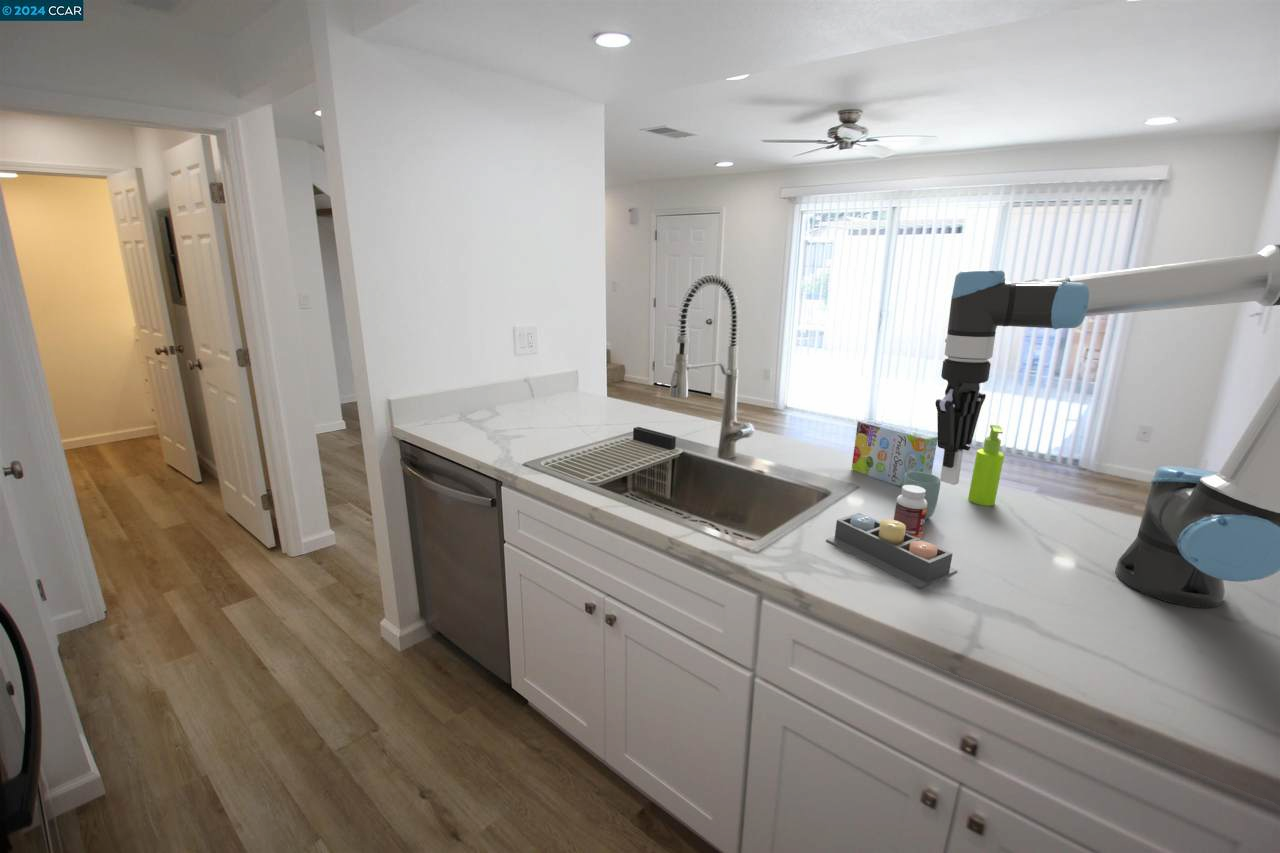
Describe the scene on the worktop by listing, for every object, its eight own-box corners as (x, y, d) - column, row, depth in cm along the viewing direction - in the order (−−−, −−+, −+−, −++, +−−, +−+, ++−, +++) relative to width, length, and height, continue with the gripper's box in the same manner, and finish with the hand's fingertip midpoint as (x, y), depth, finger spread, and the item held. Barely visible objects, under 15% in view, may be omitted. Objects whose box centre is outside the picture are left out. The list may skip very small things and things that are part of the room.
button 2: (907, 546, 117) (911, 525, 116) (892, 552, 114) (896, 530, 113) (887, 537, 121) (890, 516, 119) (872, 542, 118) (875, 521, 117)
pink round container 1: (939, 569, 112) (942, 547, 110) (924, 576, 109) (928, 553, 108) (916, 559, 116) (919, 537, 114) (901, 565, 113) (905, 543, 112)
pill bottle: (924, 543, 124) (932, 495, 121) (893, 538, 126) (900, 492, 123) (919, 531, 130) (927, 485, 127) (890, 527, 131) (897, 482, 128)
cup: (938, 524, 133) (945, 484, 130) (902, 521, 134) (908, 481, 132) (929, 511, 140) (935, 472, 138) (895, 508, 142) (900, 470, 139)
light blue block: (877, 540, 123) (879, 520, 122) (862, 545, 121) (865, 525, 119) (858, 531, 127) (860, 512, 126) (843, 536, 125) (846, 516, 123)
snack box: (930, 489, 154) (939, 436, 150) (918, 494, 151) (927, 439, 147) (861, 466, 171) (868, 418, 167) (849, 470, 168) (856, 420, 164)
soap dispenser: (970, 504, 145) (984, 428, 139) (966, 495, 151) (980, 421, 145) (997, 508, 142) (1012, 431, 137) (992, 498, 149) (1007, 424, 143)
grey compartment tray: (957, 572, 112) (960, 551, 111) (920, 588, 106) (923, 566, 105) (862, 528, 130) (864, 510, 129) (826, 540, 124) (828, 521, 123)
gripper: (965, 353, 110) (948, 470, 116) (926, 359, 103) (910, 483, 109) (1007, 358, 104) (987, 481, 110) (968, 364, 97) (949, 495, 103)
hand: (949, 482), depth 109 cm, fingers closed
